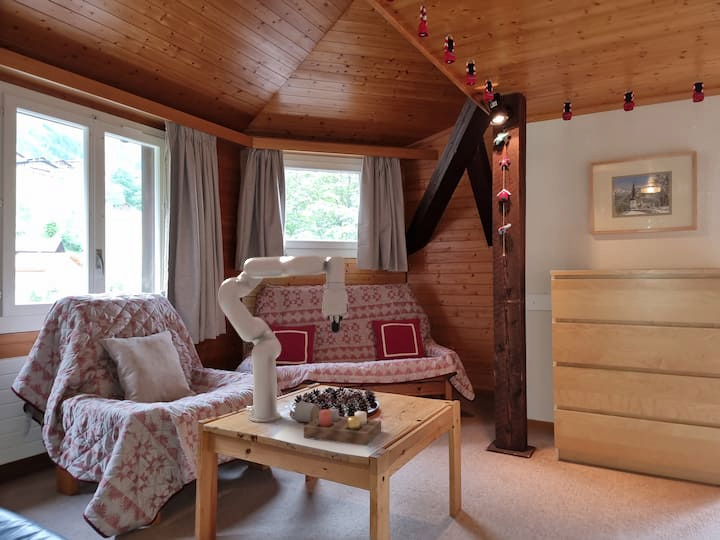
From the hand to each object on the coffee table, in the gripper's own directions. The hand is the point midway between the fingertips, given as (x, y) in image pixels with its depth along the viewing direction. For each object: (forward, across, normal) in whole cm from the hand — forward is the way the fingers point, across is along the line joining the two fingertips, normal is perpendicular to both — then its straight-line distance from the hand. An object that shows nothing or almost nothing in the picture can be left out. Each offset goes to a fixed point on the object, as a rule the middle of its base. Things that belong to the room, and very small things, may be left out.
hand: (335, 332), depth 207 cm
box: (+35, +10, -17) cm, 40 cm away
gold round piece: (+33, +15, -21) cm, 42 cm away
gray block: (+33, +5, -13) cm, 36 cm away
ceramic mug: (+35, -10, -6) cm, 37 cm away
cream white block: (+33, +16, -13) cm, 39 cm away
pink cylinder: (+31, +4, -21) cm, 38 cm away
